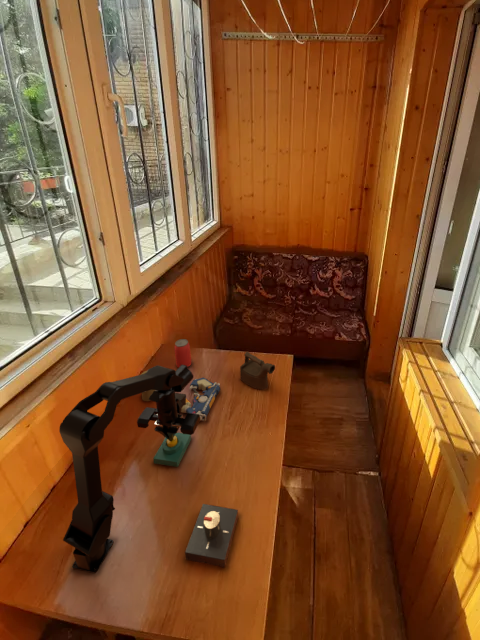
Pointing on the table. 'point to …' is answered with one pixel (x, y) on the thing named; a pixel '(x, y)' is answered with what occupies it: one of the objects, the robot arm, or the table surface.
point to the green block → (172, 451)
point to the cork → (146, 393)
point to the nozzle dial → (212, 524)
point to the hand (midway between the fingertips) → (171, 439)
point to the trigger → (172, 442)
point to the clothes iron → (255, 371)
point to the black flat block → (217, 547)
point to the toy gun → (202, 397)
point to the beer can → (182, 353)
